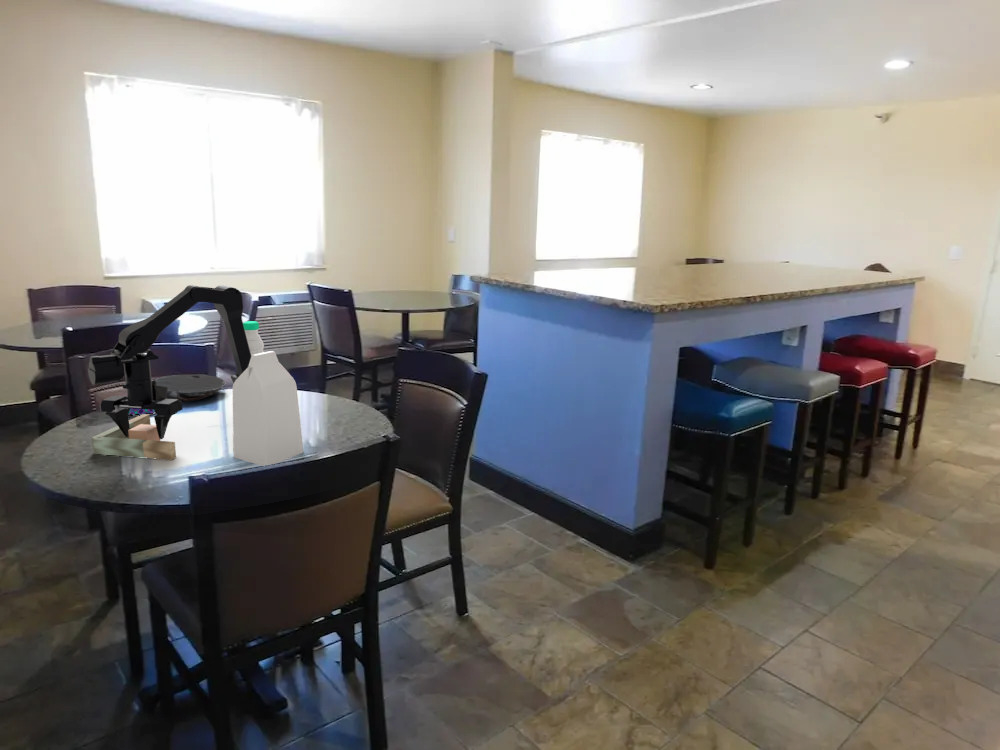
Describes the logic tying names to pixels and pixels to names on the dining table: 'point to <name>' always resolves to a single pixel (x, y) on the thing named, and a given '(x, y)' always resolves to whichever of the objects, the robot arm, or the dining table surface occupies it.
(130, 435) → the cube
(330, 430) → the dining table surface
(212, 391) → the board
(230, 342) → the robot arm
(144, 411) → the pudding
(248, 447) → the milk
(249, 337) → the water bottle
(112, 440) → the arena
